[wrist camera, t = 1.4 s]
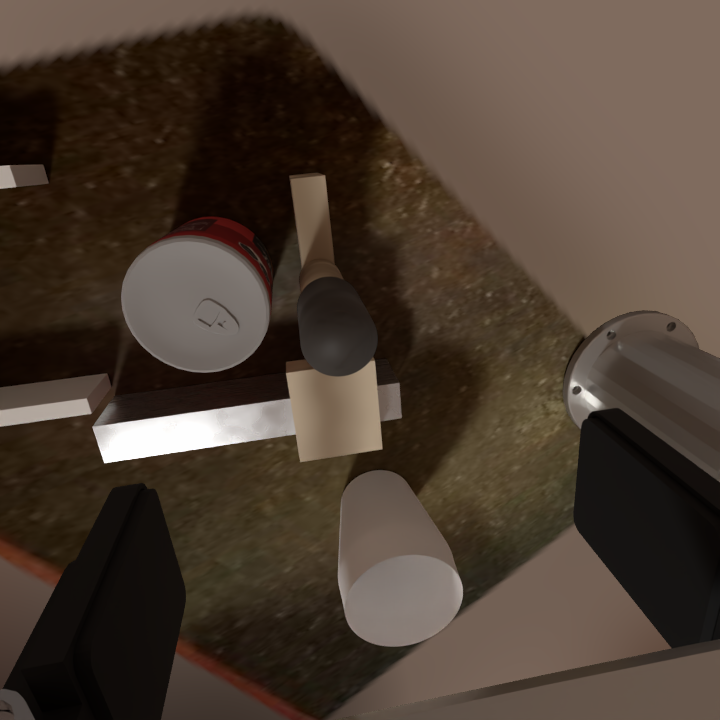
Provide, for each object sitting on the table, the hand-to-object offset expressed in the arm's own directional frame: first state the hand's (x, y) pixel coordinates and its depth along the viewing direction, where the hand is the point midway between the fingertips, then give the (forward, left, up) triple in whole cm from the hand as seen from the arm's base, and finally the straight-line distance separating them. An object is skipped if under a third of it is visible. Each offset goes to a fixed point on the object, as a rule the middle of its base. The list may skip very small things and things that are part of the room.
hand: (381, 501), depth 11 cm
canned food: (+7, 0, -30) cm, 31 cm away
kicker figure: (0, +4, -29) cm, 29 cm away
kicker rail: (+6, +11, -30) cm, 32 cm away
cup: (-3, +23, -30) cm, 38 cm away
